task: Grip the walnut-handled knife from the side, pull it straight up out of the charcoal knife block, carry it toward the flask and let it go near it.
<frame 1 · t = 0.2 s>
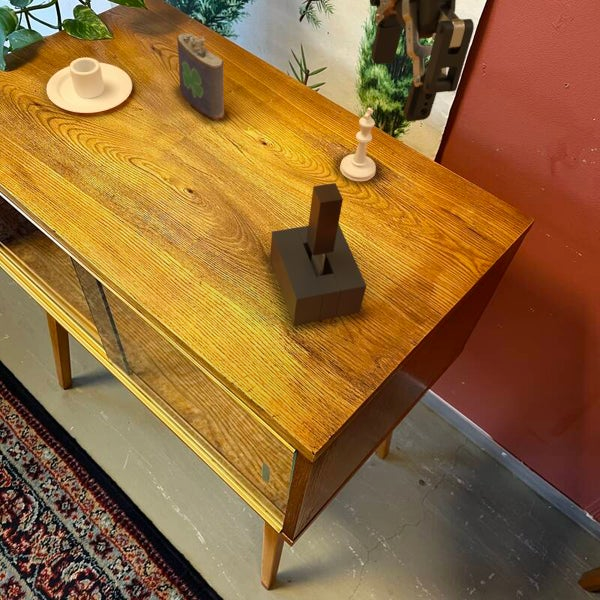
hand: (398, 88, 61), 25 cm above the sideboard, tool pointing down, fingers open, 8 cm apart
candle holder: (90, 92, 97), on the sideboard
flask: (201, 105, 97), on the sideboard
chess piece: (357, 170, 91), on the sideboard
knife: (320, 242, 72), in the knife block
knife block: (313, 285, 78), on the sideboard
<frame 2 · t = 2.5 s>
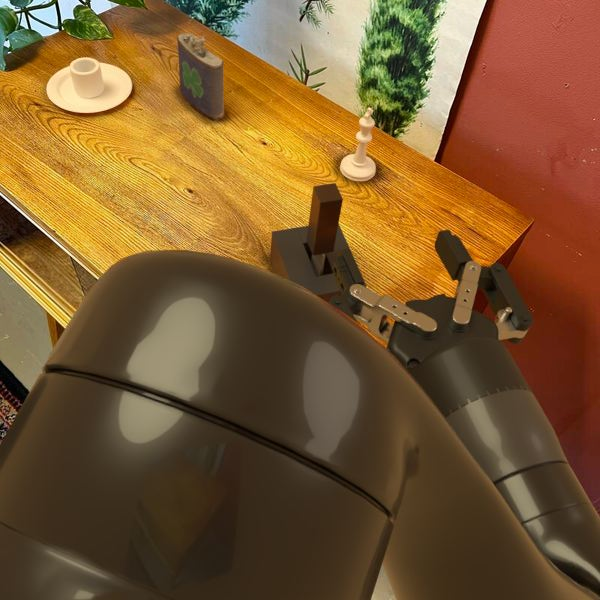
hand: (391, 246, 53), 22 cm above the sideboard, tool horizontal, fingers open, 8 cm apart
nothing on the sideboard moved.
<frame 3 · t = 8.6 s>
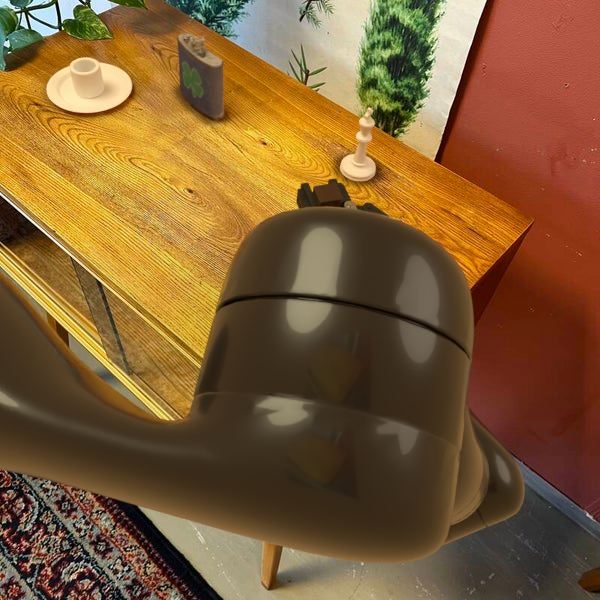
hand: (317, 187, 70), 13 cm above the sideboard, tool horizontal, fingers closed on knife, 2 cm apart
knife: (320, 242, 72), in the knife block, touching gripper
everything else where it was.
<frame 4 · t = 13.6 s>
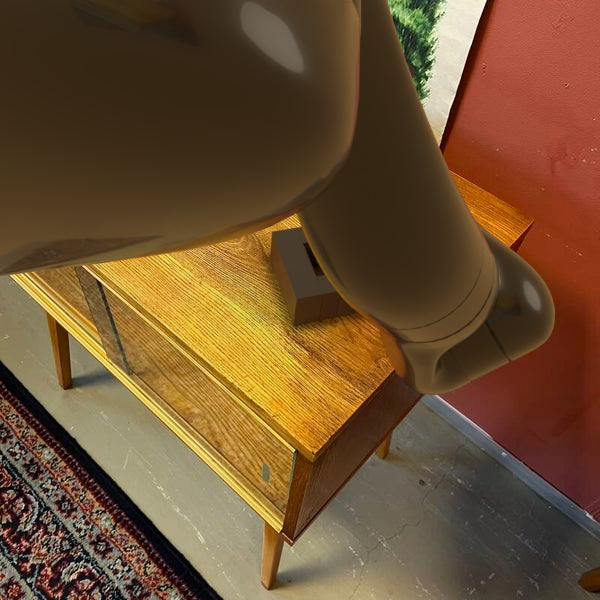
hand: (307, 28, 61), 28 cm above the sideboard, tool horizontal, fingers closed on knife, 2 cm apart
knife: (311, 98, 63), point 22 cm above the sideboard, touching gripper
everything else where it was.
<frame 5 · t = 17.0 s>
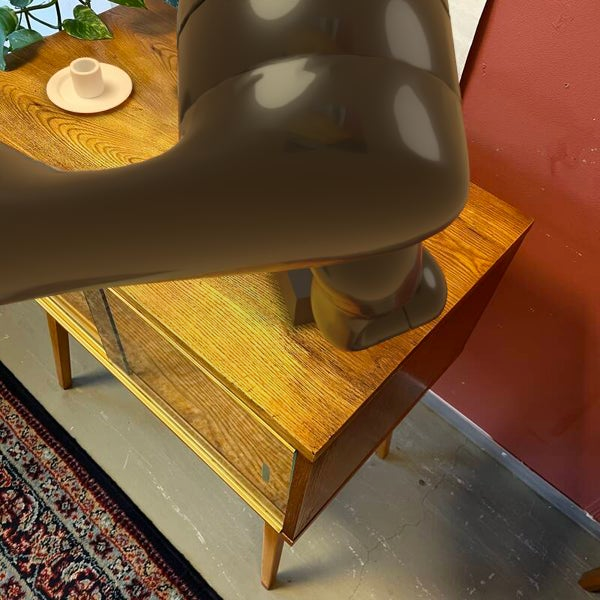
hand: (267, 54, 72), 20 cm above the sideboard, tool horizontal, fingers closed on knife, 2 cm apart
knife: (272, 113, 74), point 14 cm above the sideboard, touching gripper
everything else where it was.
when the fingers open (13 cm above the sideboard, at t = 19.1 s): knife stays where it is, on the sideboard.
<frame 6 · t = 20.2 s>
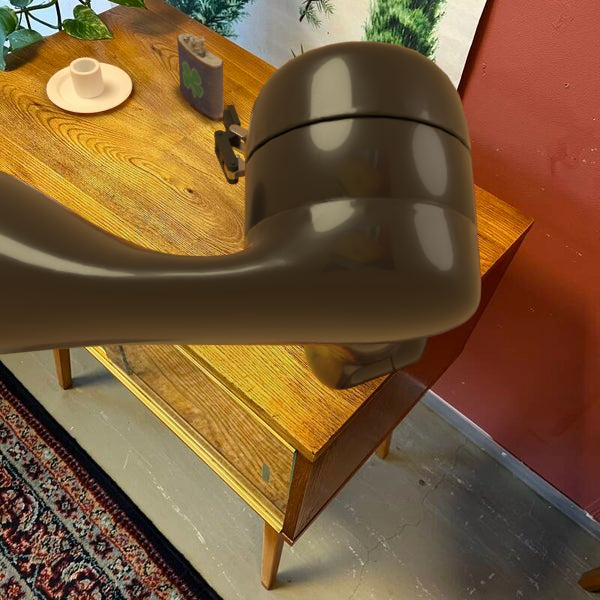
hand: (266, 106, 76), 14 cm above the sideboard, tool horizontal, fingers open, 8 cm apart
knife: (270, 160, 80), on the sideboard
everything else where it was.
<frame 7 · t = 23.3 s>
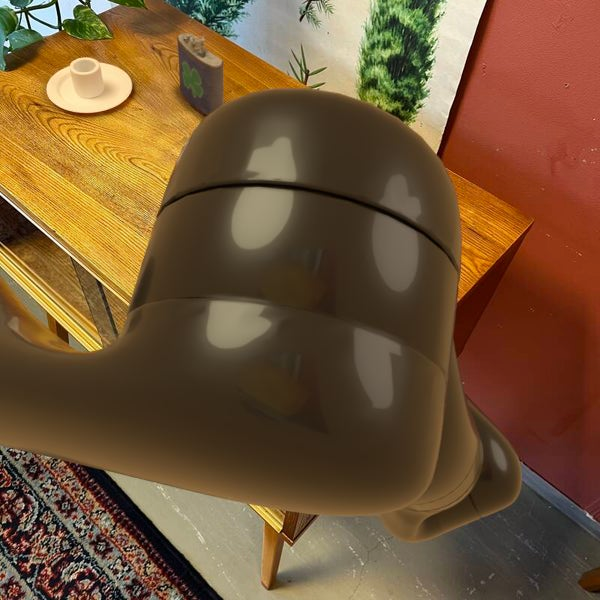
hand: (305, 167, 65), 17 cm above the sideboard, tool horizontal, fingers open, 8 cm apart
nothing on the sideboard moved.
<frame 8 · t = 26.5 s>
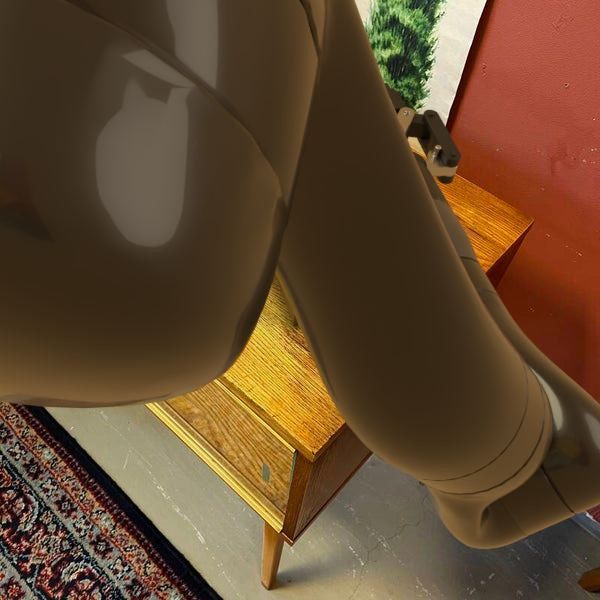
hand: (330, 97, 54), 28 cm above the sideboard, tool horizontal, fingers open, 8 cm apart
nothing on the sideboard moved.
at the end: knife moved 14.1 cm from its start; knife 22.5 cm from the flask (horizontally); the gripper is holding nothing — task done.
